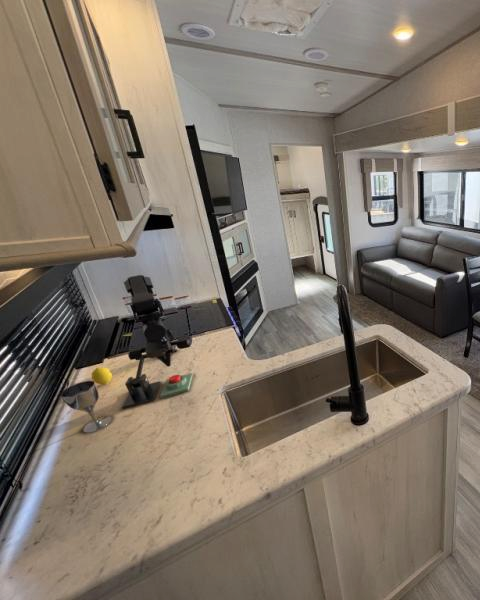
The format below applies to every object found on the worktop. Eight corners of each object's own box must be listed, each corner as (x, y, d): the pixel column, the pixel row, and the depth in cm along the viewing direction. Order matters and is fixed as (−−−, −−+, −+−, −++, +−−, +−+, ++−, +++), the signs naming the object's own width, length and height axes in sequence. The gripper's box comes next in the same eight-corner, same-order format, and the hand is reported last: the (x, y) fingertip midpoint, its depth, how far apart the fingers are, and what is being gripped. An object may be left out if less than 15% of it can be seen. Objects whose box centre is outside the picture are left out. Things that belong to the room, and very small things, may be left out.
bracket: (133, 389, 121) (125, 373, 118) (160, 383, 124) (154, 366, 121) (122, 409, 111) (114, 391, 108) (153, 401, 114) (145, 384, 111)
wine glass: (76, 430, 102) (54, 394, 96) (104, 413, 109) (85, 379, 103) (90, 436, 99) (69, 399, 93) (118, 418, 106) (100, 383, 100)
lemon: (118, 379, 127) (110, 363, 124) (105, 388, 122) (96, 371, 119) (106, 379, 128) (98, 363, 125) (93, 388, 123) (84, 371, 120)
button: (171, 379, 121) (169, 376, 121) (181, 377, 123) (180, 373, 122) (169, 385, 118) (167, 381, 118) (180, 382, 120) (178, 378, 119)
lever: (137, 359, 124) (134, 355, 123) (150, 356, 126) (148, 352, 124) (130, 389, 114) (127, 385, 112) (145, 385, 116) (142, 381, 114)
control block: (167, 382, 124) (164, 375, 123) (192, 375, 128) (190, 369, 127) (160, 398, 115) (158, 392, 114) (188, 391, 119) (186, 384, 117)
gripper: (114, 346, 101) (132, 385, 108) (180, 333, 108) (194, 370, 114) (126, 332, 111) (142, 368, 117) (186, 321, 118) (198, 355, 124)
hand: (169, 365), depth 118 cm, fingers closed
